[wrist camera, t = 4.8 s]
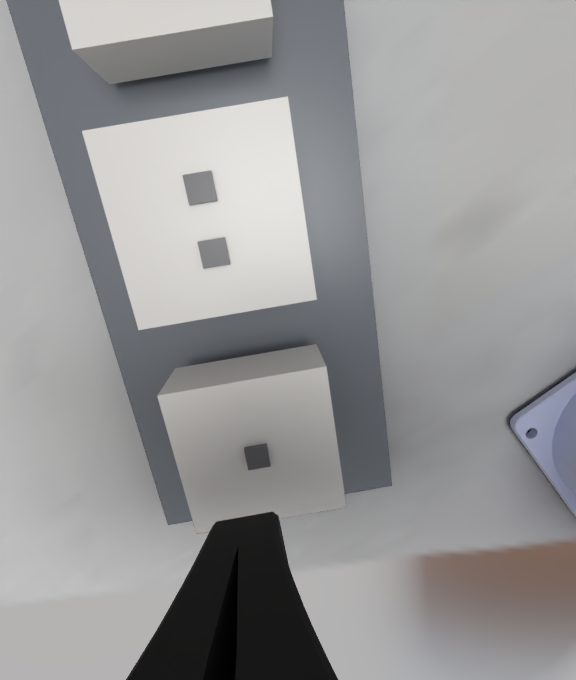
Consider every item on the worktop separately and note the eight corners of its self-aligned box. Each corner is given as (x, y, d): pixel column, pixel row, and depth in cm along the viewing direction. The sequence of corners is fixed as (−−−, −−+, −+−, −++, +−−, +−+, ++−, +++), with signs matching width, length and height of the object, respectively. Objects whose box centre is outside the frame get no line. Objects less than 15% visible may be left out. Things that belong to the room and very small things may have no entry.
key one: (334, 465, 15) (347, 511, 12) (206, 488, 15) (195, 538, 12) (316, 344, 13) (327, 368, 11) (175, 368, 13) (155, 398, 11)
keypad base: (386, 474, 18) (403, 509, 15) (172, 511, 17) (158, 552, 15) (311, -242, 11) (323, -363, 9) (-38, -186, 11) (-117, -294, 9)
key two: (308, 287, 13) (317, 300, 10) (160, 313, 13) (136, 331, 10) (283, 122, 11) (288, 93, 9) (118, 150, 11) (77, 128, 9)
